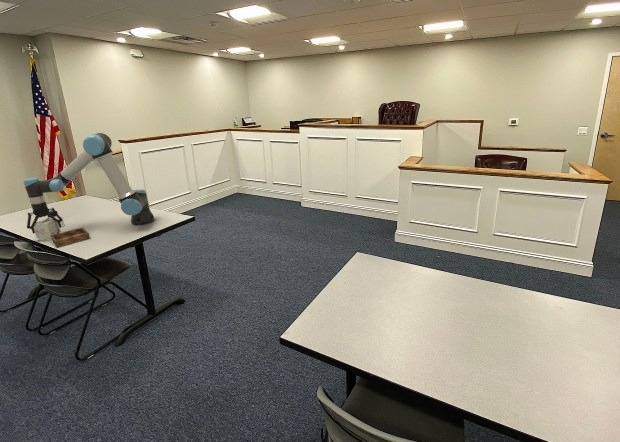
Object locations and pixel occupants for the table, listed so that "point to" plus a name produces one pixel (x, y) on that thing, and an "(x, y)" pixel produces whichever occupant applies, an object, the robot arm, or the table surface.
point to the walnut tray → (70, 237)
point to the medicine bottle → (56, 218)
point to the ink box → (46, 229)
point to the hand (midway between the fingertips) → (48, 234)
